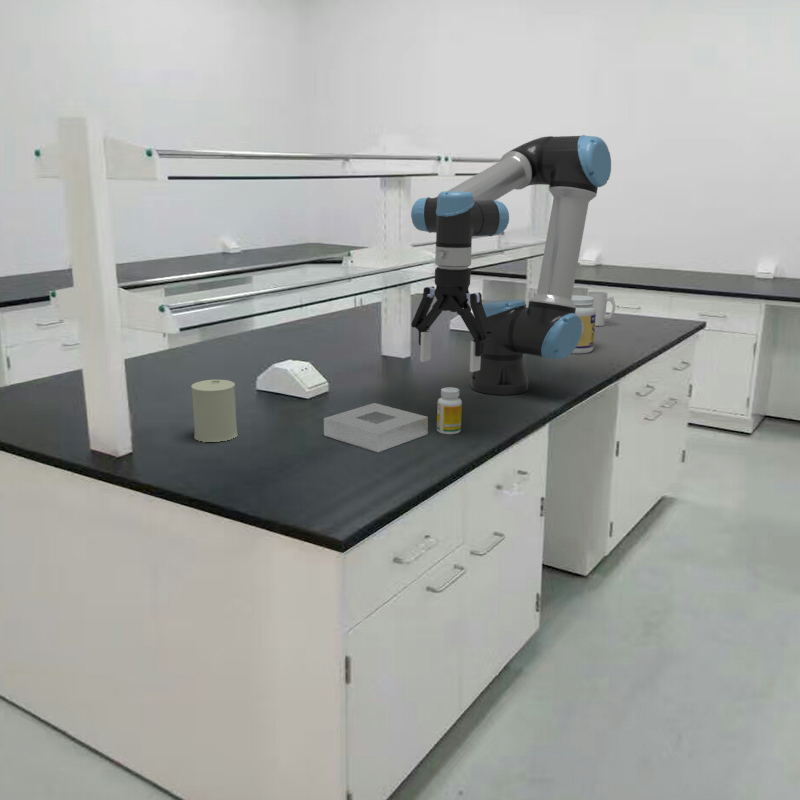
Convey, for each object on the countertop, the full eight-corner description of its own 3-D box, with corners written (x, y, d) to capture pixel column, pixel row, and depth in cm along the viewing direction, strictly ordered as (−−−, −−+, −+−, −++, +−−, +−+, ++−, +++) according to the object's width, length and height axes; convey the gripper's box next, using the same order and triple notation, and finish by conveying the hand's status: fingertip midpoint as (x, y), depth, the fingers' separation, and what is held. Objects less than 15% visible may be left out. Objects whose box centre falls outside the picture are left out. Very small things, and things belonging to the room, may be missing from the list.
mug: (584, 326, 305) (586, 293, 301) (588, 323, 310) (591, 290, 307) (611, 328, 300) (614, 295, 297) (615, 325, 306) (618, 292, 303)
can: (240, 429, 185) (238, 377, 182) (234, 443, 176) (231, 388, 173) (198, 429, 185) (195, 377, 182) (190, 443, 176) (186, 388, 173)
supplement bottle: (431, 431, 185) (432, 389, 182) (447, 425, 189) (448, 384, 186) (450, 436, 181) (451, 394, 179) (466, 431, 185) (467, 389, 183)
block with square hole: (374, 419, 193) (374, 402, 192) (427, 434, 183) (427, 416, 182) (324, 435, 181) (323, 418, 180) (377, 452, 171) (377, 433, 170)
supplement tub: (596, 354, 259) (600, 300, 255) (557, 354, 260) (560, 300, 255) (589, 346, 271) (592, 294, 266) (551, 345, 271) (554, 294, 267)
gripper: (396, 263, 180) (395, 359, 186) (491, 273, 164) (486, 378, 170) (419, 260, 186) (417, 354, 191) (512, 270, 170) (507, 372, 175)
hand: (449, 365), depth 181 cm, fingers open, 13 cm apart
